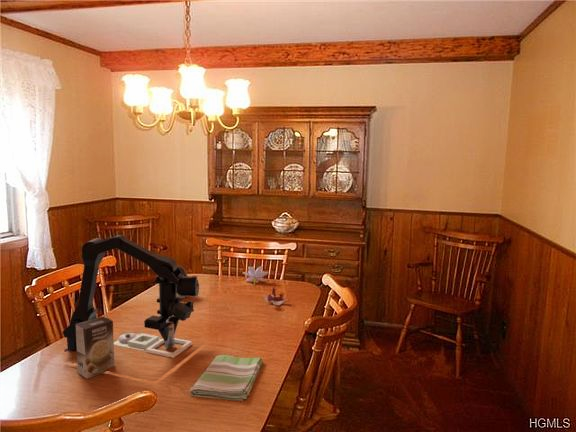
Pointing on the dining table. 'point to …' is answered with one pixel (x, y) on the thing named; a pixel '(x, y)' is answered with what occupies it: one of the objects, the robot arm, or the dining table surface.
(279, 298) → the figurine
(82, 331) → the coffee box
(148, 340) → the block
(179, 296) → the dark grey egg shape
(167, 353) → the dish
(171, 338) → the pin
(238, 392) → the dish towel
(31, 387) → the dining table surface
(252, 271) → the water lily
